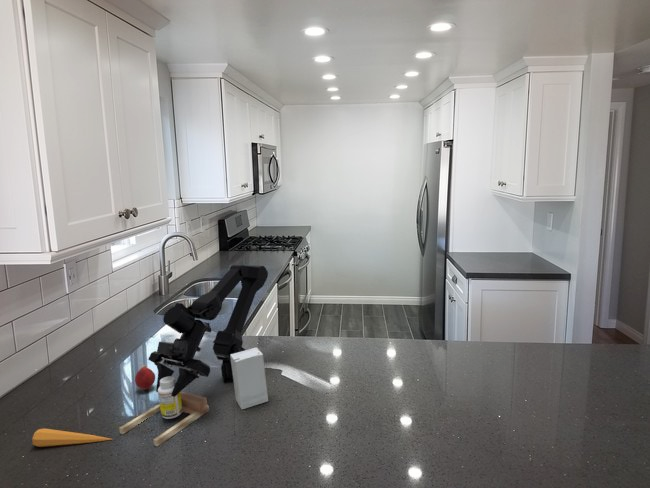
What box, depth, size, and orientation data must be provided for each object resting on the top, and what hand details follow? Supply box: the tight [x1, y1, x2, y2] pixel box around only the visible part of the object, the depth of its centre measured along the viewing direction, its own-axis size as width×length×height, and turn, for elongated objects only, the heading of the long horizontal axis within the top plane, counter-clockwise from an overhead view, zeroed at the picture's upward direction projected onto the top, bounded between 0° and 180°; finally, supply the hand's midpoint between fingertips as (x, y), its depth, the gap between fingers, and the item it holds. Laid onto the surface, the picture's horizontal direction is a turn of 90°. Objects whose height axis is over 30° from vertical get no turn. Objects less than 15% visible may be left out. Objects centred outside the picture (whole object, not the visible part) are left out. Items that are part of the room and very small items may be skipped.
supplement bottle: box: [157, 375, 183, 420], centre depth 124 cm, size 6×6×10 cm
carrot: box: [31, 428, 113, 448], centre depth 116 cm, size 20×4×4 cm, turn 91°
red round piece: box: [134, 364, 156, 391], centre depth 142 cm, size 6×6×8 cm
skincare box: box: [230, 347, 269, 410], centre depth 129 cm, size 8×6×15 cm
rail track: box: [118, 391, 210, 447], centre depth 123 cm, size 18×14×4 cm
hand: (165, 394), depth 122 cm, fingers closed on supplement bottle, 6 cm apart
